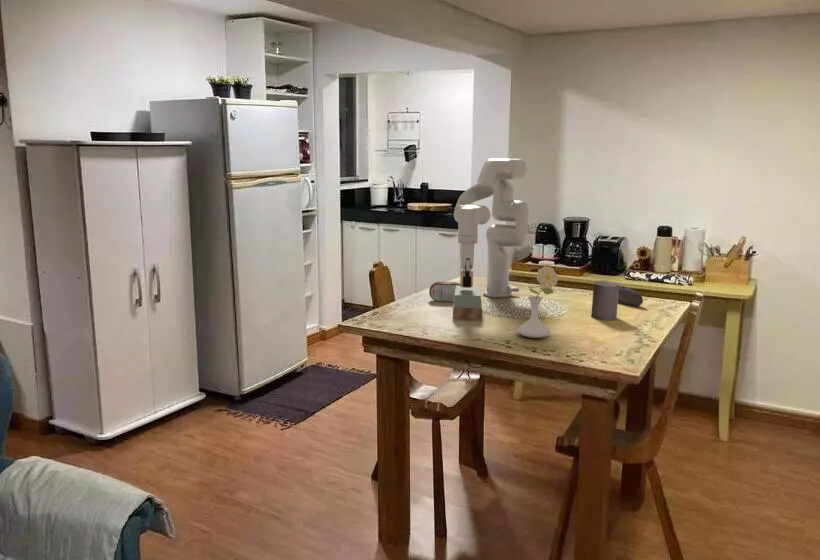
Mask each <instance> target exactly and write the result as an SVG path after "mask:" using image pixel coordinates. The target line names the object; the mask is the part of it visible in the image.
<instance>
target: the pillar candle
mask: <svg viewBox="0 0 820 560" xmlns="http://www.w3.org/2000/svg"><path fill="white" fill-rule="evenodd" d="M619 286H620V284H619V282H616V281H610V280H607V279H605V280H596V281H595V280H594V282H593V290H592V300H591V301H592V302H591V304H592V305H591V314H590V316H591V318H593V319H595V320H600V321H615V320H617V315H618V307H619V305H618V304H619V302H618V294H619Z"/></svg>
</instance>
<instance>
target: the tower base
mask: <svg viewBox="0 0 820 560" xmlns="http://www.w3.org/2000/svg"><path fill="white" fill-rule="evenodd" d="M453 319H455V320H454V321H459V320H460V321H482V320H483V303H482V300H481V307H480V309H473V308H454V304H453V306H452V320H453Z"/></svg>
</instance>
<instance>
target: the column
mask: <svg viewBox="0 0 820 560" xmlns="http://www.w3.org/2000/svg"><path fill="white" fill-rule="evenodd" d="M465 271H466V270H465ZM463 276H464V270H463V269H462V270H460V273H459V277H460V280H459V284H460V287H463ZM473 286H474V271H473V270H471V287H473ZM471 287H463V288H471Z"/></svg>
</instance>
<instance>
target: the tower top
mask: <svg viewBox="0 0 820 560" xmlns="http://www.w3.org/2000/svg"><path fill="white" fill-rule="evenodd" d="M481 287H482V286H481V285H473V287H471V288H463V287H460V286H457V285H456V289H455V295H454V302H453V305H454V308H473V309H480V307H481V301H482V295H481V294H482V293H481V292H482V288H481Z"/></svg>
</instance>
